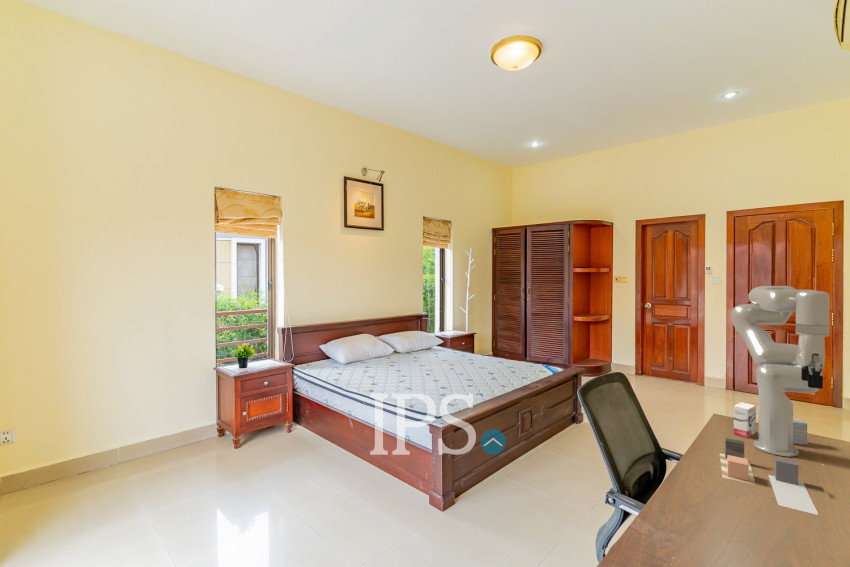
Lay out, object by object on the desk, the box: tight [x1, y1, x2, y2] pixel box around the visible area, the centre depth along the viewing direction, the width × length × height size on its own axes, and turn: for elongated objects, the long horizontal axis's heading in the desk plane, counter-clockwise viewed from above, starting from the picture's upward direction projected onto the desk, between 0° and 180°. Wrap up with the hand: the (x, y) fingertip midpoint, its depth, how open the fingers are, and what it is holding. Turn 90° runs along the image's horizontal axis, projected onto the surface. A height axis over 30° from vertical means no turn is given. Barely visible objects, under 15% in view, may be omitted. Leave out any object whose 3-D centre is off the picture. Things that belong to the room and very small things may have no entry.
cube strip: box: [719, 437, 756, 486], centre depth 129 cm, size 20×8×7 cm, turn 145°
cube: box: [727, 455, 749, 481], centre depth 124 cm, size 5×5×5 cm
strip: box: [768, 457, 819, 516], centre depth 114 cm, size 20×8×7 cm, turn 145°
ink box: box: [733, 401, 757, 439], centre depth 159 cm, size 8×5×12 cm, turn 123°
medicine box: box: [793, 418, 808, 446], centre depth 151 cm, size 8×4×9 cm, turn 71°
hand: (811, 384), depth 123 cm, fingers open, 9 cm apart
